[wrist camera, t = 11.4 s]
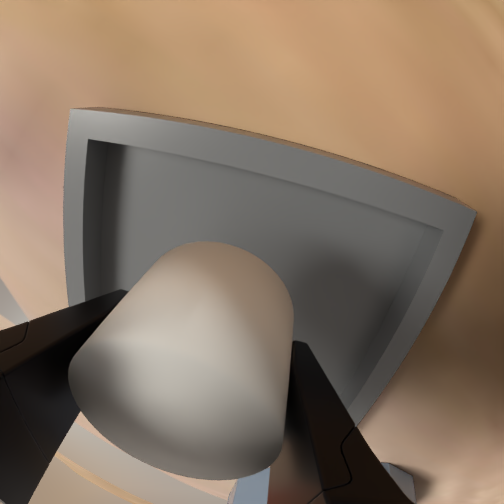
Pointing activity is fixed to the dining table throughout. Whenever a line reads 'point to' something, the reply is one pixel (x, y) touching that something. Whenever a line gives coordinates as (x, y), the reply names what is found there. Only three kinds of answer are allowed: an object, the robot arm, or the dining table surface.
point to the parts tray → (265, 230)
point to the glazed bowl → (256, 486)
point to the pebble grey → (193, 365)
